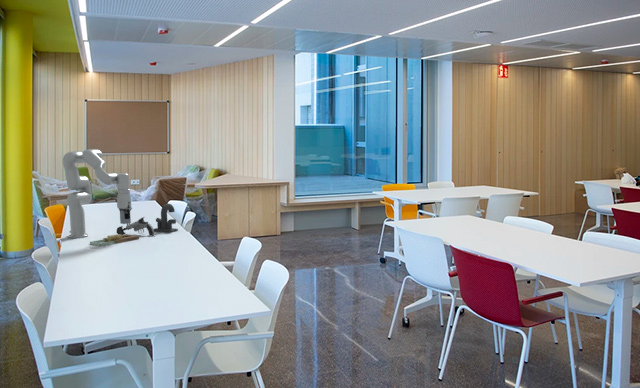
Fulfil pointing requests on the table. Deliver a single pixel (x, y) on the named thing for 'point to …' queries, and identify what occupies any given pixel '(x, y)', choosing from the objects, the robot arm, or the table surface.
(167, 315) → the table surface
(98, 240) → the tray
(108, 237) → the tan wooden cube
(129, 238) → the slot board
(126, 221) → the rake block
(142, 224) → the gun
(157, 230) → the faucet
